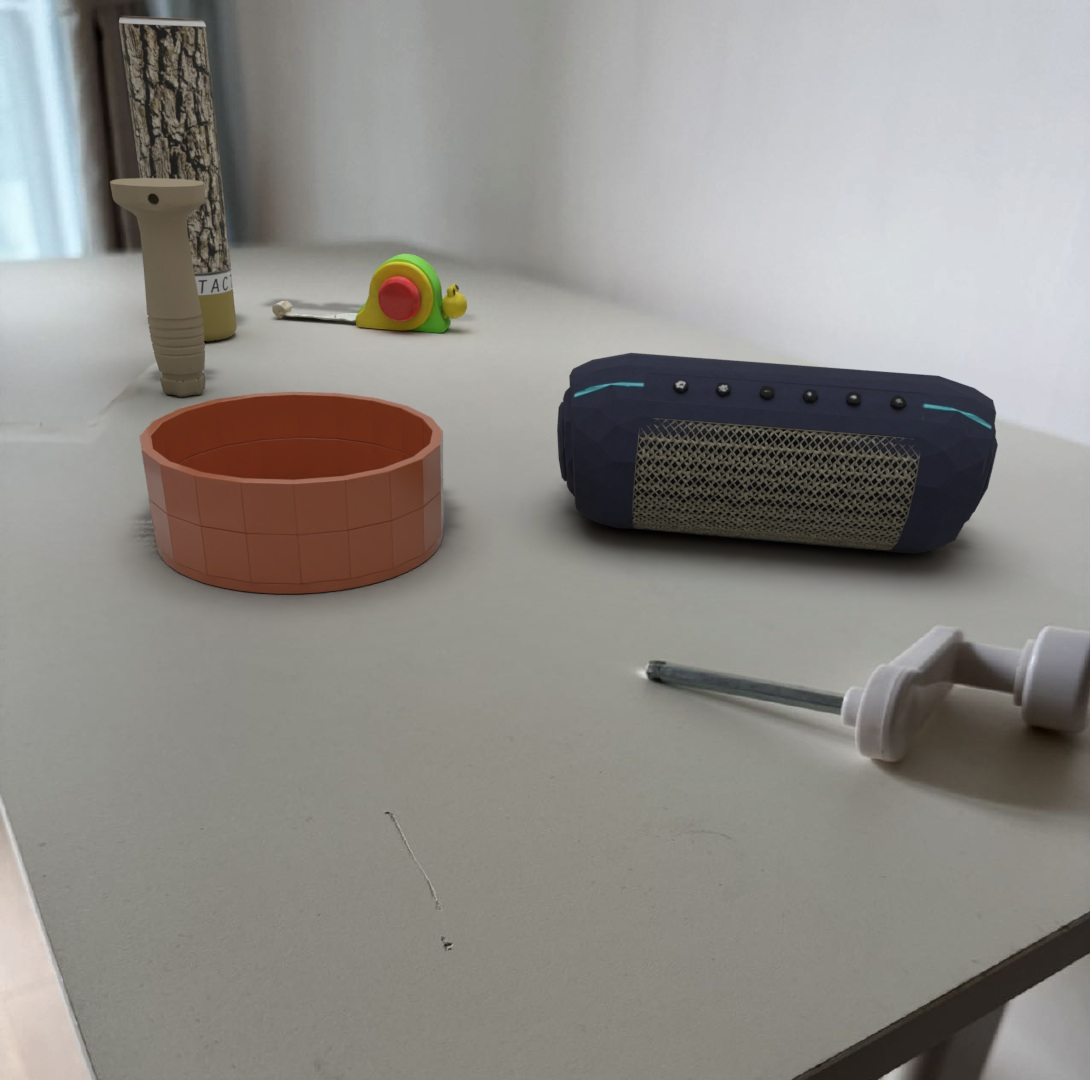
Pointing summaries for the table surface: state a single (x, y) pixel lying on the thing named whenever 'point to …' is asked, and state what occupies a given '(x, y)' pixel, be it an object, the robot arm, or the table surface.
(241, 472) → the bowl
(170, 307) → the handle
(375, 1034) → the table surface
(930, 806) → the table surface
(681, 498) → the portable speaker
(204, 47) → the paper tube
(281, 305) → the toy measuring tape
